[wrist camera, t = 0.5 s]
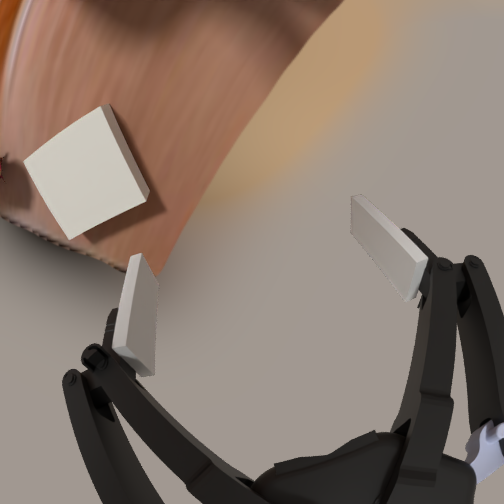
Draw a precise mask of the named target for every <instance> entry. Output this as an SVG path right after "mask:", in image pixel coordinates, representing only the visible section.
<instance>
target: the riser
mask: <svg viewBox="0 0 504 504" xmlns="http://www.w3.org/2000/svg"><path fill="white" fill-rule="evenodd" d="M23 162H24V164H25V166H26V168H27V170H28V172H29V174H30V176H31V178H32V179H33V181H34V183H35V185H36V187H37V189H38V190H39V192H40V194H41V196H42V197H43V199H44V201H45V203H46V204H47V206H48V208H49V209H50V211H51V212H52V214H53V216H54V217H55V219H56V220H57V222H58V224H59V225H60V227H61V228H62V230H63V231H64V233H65V234H66V236H67V237H68V239H69V240H70V239H72V238H74V237H76V236H78V235H79V234H81V233H83V232H85V231H87V230H89V229H91V228H93V227H94V226H96V225H98V224H100V223H102V222H104V221H106V220H108V219H110V218H112V217H114V216H116V215H118V214H120V213H122V212H125V211H127V210H129V209H131V208H133V207H135V206H137V205H139V204H142V203H144V202H146V201H147V198H148V195H149V192H150V190H149V188H148V186H147V184H146V182H145V180H144V178H143V176H142V174H141V172H140V170H139V168H138V166H137V164H136V162H135V160H134V158H133V155H132V153H131V151H130V149H129V147H128V145H127V143H126V141H125V138H124V136H123V134H122V132H121V130H120V127H119V125H118V123H117V121H116V118H115V116H114V114H113V112H112V109H111V107H110V105H109V104H106V105H102V106H100V107H98V108H96V109H95V110H93V111H91V112H90V113H88V114H87V115H85V116H84V117H82V118H80V119H79V120H77V121H76V122H74V123H73V124H71V125H70V126H68V127H67V128H66V129H64V130H63V131H61V132H60V133H59V134H57V135H56V136H54V137H53V138H52V139H50V140H49V141H48V142H47V143H45V144H44V145H43V146H41V147H40V148H39V149H38V150H36V151H35V152H34V153H33V154H32V155H30V156H29V157H28V158H27V159H26V160H25V161H23Z"/></svg>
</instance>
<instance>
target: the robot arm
mask: <svg viewBox="0 0 504 504" xmlns="http://www.w3.org/2000/svg"><path fill="white" fill-rule="evenodd" d="M351 234H352V235H353V236H354V237H355V239H356V240H357V241H358V242H359V243H360V244H361V246H362V247H363V248H364V249H365V251H366V252H367V253H368V254H369V256H370V257H371V258H372V259H373V261H374V262H375V263H376V264H377V266H378V267H379V268H380V270H381V271H382V272H383V273H384V275H385V276H386V277H387V279H388V280H389V281H390V283H391V284H392V285H393V287H394V288H395V289H396V291H397V292H398V293H399V295H400V296H401V297H402V299H403V300H404V301H405V302H407V301H409V300H411V299H414V298H416V295H417V293H418V290H419V291H420V292H421V293H422V296H421V299H420V302H419V304H418V307H417V308H419V307H420V311H419V320H418V326H417V333H416V340H415V346H414V351H413V357H412V362H411V367H410V371H409V376H408V380H407V384H406V388H405V393H404V396H403V400H402V404H401V407H400V410H399V413H398V415H397V417H396V419H395V421H394V423H393V426H392V428H391V431H390V432H380V433H376V432H375V430H373V431H372V432H369V433H367V434H364V435H362V436H359V437H357V438H355V439H352V440H350V441H349V442H348V443H346V444H344V445H343V446H341V447H340V448H338V449H337V450H335V451H334V452H332V453H330V454H328V455H323V456H313V457H299V458H295V459H291V460H287V461H283V462H279V463H275V464H274V466H275V467H273V468H271V469H269V470H267V471H266V472H264V473H263V474H262V475H261V476H259V477H258V478H257V479H256V480H255V481H254V480H252V479H250V478H249V477H247V476H246V475H245V474H243V473H241V472H240V471H238V470H237V469H235V468H233V467H232V466H230V465H229V464H227V463H226V462H225V461H223V460H222V459H221V458H219V457H218V456H217V455H216V454H214V453H213V452H212V451H211V450H210V449H208V448H207V447H206V446H204V445H203V444H202V443H201V442H200V441H198V439H196V438H195V437H194V436H193V435H192V434H190V433H189V432H188V431H187V430H186V429H185V428H184V427H183V426H182V425H181V424H180V423H179V422H177V421H176V420H175V419H174V418H173V417H172V416H171V415H170V414H169V413H168V412H167V411H166V410H165V409H164V408H163V407H162V406H161V405H160V404H159V403H158V402H157V401H156V400H155V399H154V398H153V397H152V396H151V394H150V393H149V392H148V391H147V390H146V389H145V388H144V387H143V386H142V385H141V384H140V383H139V381H138V380H136V372H137V373H138V374H139V375H140V376H141V377H146V376H152V375H155V341H156V322H157V306H158V294H159V284H158V282H157V280H156V278H155V276H154V275H153V273H152V271H151V269H150V267H149V265H148V264H147V262H146V260H145V258H144V256H143V254H142V253H139V254H136V255H133V256H131V257H130V261H129V265H128V269H127V273H126V277H125V282H124V286H123V290H122V295H121V299H120V304H119V308H115V309H112V311H111V313H110V314H109V316H108V319H107V324H106V325H107V326H106V329H105V334H104V339H103V345H102V346H100V345H99V344H95V343H94V344H91V345H89V346H88V347H86V349H85V350H84V351H83V353H82V356H81V361H82V364H83V365H84V366H85V367H86V368H88V370H86V371H84V372H82V373H80V372H79V371H78V370H76V369H71V370H69V371H68V372H66V374H65V375H64V377H63V380H62V386H63V391H64V396H65V399H66V404H67V408H68V412H69V416H70V420H71V423H72V427H73V430H74V434H75V437H76V440H77V443H78V446H79V449H80V452H81V454H82V457H83V460H84V462H85V465H86V468H87V470H88V473H89V474H90V477H91V480H92V482H93V484H94V486H95V489H96V491H97V493H98V495H99V497H100V499H101V501H102V503H103V504H165V503H164V502H163V501H162V499H161V497H160V496H159V494H158V493H157V491H156V490H155V488H154V487H153V485H152V483H151V482H150V480H149V478H148V477H147V475H146V473H145V471H144V470H143V468H142V466H141V464H140V463H139V461H138V458H137V457H136V455H135V453H134V451H133V449H132V447H131V445H130V443H129V441H128V439H127V436H126V434H125V432H124V430H123V428H122V426H121V424H120V421H119V419H118V416H117V414H116V412H115V409H114V407H113V404H114V405H115V406H116V408H117V409H118V410H119V412H120V413H121V414H122V416H123V417H124V418H125V419H126V421H127V422H128V423H129V424H130V426H131V427H132V428H133V429H134V431H135V432H136V433H137V434H138V435H139V436H140V437H141V439H142V440H143V441H144V442H145V443H146V444H147V446H148V447H149V448H150V449H151V450H152V451H153V452H154V453H155V454H156V455H157V456H158V457H159V458H160V459H161V461H163V463H164V464H166V466H167V467H168V468H170V470H172V471H173V472H174V473H175V474H176V475H177V476H178V477H179V478H180V479H181V480H182V481H183V482H184V483H185V484H186V488H187V490H188V491H189V492H190V493H191V494H192V495H193V496H194V497H195V498H197V499H198V500H199V501H200V502H201V503H203V504H473V502H474V494H475V489H476V485H477V484H478V483H479V482H481V481H482V480H484V479H485V478H486V477H488V476H489V475H491V474H492V473H493V472H494V471H496V470H497V469H498V468H499V467H501V466H502V465H503V464H504V315H503V312H502V310H501V306H500V304H499V301H498V298H497V295H496V292H495V290H494V287H493V285H492V282H491V280H490V277H489V275H488V273H487V270H486V268H485V266H484V263H483V262H482V260H481V259H479V258H478V257H476V256H474V255H468V256H466V257H465V259H464V262H463V263H457V264H453V263H452V262H451V261H450V260H448V259H446V258H442V257H439V258H438V257H437V256H436V255H435V254H434V253H433V252H432V251H431V250H430V249H429V248H428V247H427V246H426V245H425V244H424V243H422V241H421V240H420V239H418V237H417V236H416V235H415V234H414V233H413V232H411V231H409V230H408V229H405V228H402V229H399V228H398V227H397V226H396V225H395V224H394V223H393V222H392V221H391V220H390V219H389V218H388V217H387V216H385V215H384V214H383V213H382V212H381V211H380V210H379V209H378V208H377V207H376V206H374V205H373V204H372V203H371V202H370V201H369V200H367V199H366V198H365V197H364V196H363V195H362V194H360V195H356V196H352V197H351ZM457 325H458V330H459V335H460V340H461V346H462V352H463V358H464V366H465V374H466V382H467V395H468V412H469V424H470V430H471V434H472V435H471V436H470V438H469V441H468V442H467V444H466V448H465V449H466V451H467V452H468V454H467V458H466V460H465V462H464V461H462V460H459V459H456V458H453V457H451V456H448V455H446V454H443V450H444V446H445V443H446V439H447V435H448V431H449V426H450V422H451V417H452V413H453V406H454V401H453V399H452V398H451V397H450V393H451V386H452V379H453V371H454V361H455V349H456V330H457ZM112 402H113V404H112Z"/></svg>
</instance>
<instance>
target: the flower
mask: <svg viewBox="0 0 504 504" xmlns="http://www.w3.org/2000/svg"><path fill="white" fill-rule="evenodd" d="M3 158H4V157H3ZM3 158H0V178H2V179H3V177H2V174H1V164H2V159H3ZM3 181H4V179H3ZM4 182H5V181H4ZM5 183H6V182H5Z"/></svg>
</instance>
